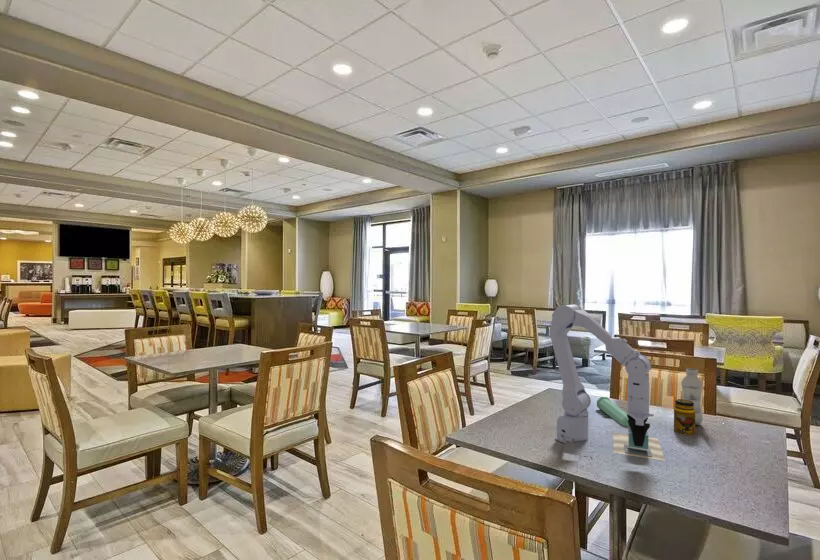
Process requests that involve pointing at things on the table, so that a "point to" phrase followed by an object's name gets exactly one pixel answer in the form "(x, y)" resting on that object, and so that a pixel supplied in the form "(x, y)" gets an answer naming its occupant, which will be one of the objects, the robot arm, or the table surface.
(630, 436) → the teal slotted block
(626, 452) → the post board
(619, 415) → the pale green rod
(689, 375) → the plastic bottle
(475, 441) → the table surface
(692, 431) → the condiment
